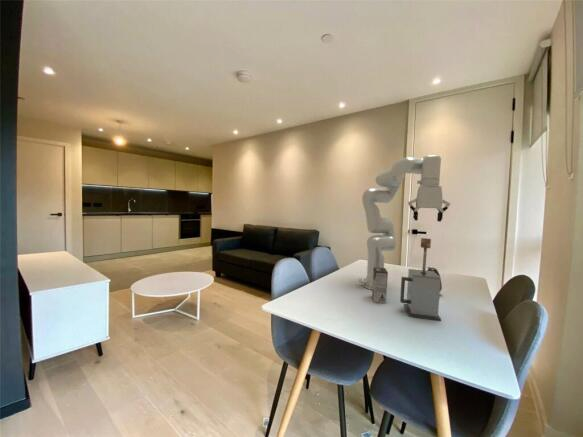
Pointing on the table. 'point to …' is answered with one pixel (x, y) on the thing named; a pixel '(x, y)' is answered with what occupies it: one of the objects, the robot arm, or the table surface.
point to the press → (421, 294)
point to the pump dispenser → (437, 274)
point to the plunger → (425, 251)
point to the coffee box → (379, 285)
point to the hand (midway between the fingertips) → (427, 220)
